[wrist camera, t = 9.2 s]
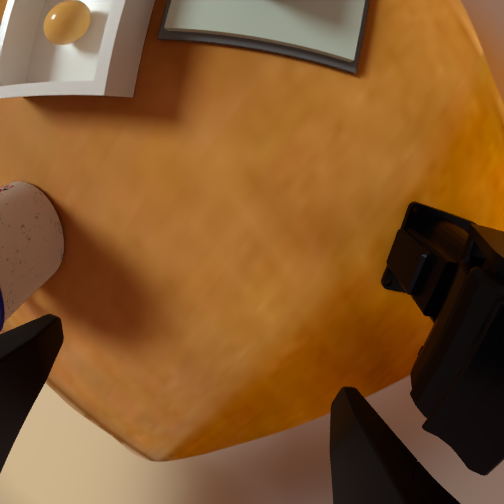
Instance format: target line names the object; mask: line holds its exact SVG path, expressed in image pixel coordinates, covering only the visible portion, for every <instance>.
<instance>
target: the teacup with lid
mask: <svg viewBox="0 0 504 504" xmlns="http://www.w3.org/2000/svg"><path fill="white" fill-rule="evenodd" d="M63 253H64V236H63V230H62V226H61V223H60V220H59V217H58V215H57V212H56V210H55V208H54V207H53V205H52V203H51V202H50V201H49V199H48V198H47V197H46V196H45V195H44V193H43V192H42V191H40V190H39V189H38V188H36V187H35V186H33V185H31V184H29V183H26V182H12V183H9V184H7V185H4V186H2V187H0V331H1V330H2V328H3V324H4V322H5V321H6V320H7V319H8V318H9V317H10V316H11V315H12V314H13V313H14V312H15V311H16V310H17V309H18V308H19V307H20V306H21V305H22V304H23V303H24V302H25V301H26V300H27V299H28V298H29V297H30V296H31V295H32V294H33V293H34V292H35V291H36V290H37V289H38V288H39V287H41V286H42V285H43V284H44V283H45V282H46V281H47V280H48V279H49V278H50V277H51V276H52V275H54V273H55V272H56V271H57V270H58V268H59V266H60V264H61V262H62V258H63Z"/></svg>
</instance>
